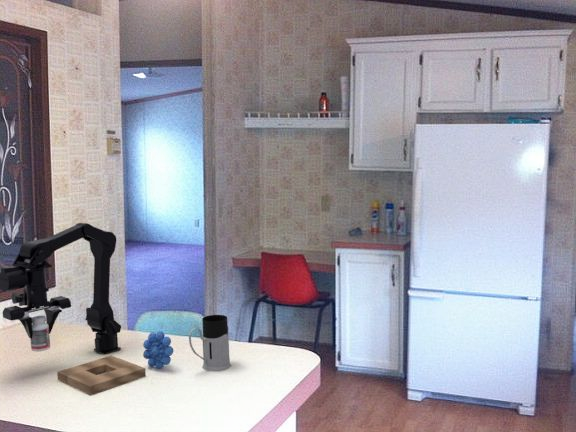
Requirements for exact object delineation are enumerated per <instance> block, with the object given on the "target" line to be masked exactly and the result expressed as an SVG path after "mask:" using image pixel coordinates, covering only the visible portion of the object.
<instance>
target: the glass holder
mask: <svg viewBox="0 0 576 432" xmlns="http://www.w3.org/2000/svg"><path fill="white" fill-rule="evenodd" d="M201 321H202V322H201V323H202V324H201V325H202V329H200V328H199V327H193V328H192V329H191V330H190V331H189V334H188V342H189V347H190V349H191V351H192V352H193V354H194V355H196V356H197V358H200V359H201V360H202V361H203V364H202V365H201V366H202V367H201V368H202V369H203V370H204V371H207V372H222V371H225V370H226V371H227V370H229V369H230V368H231V367H232V364H231V358H230V341H229V339H230V338H229V337H230V336H229V334H230V333H229V325H228V316H227V315H224V314H210V315H207V316H206V315H205V316H204V317H202V318H201ZM195 330H197V331H198V332H199V338H200V340H201V341H202V353H203V354H202V356H201V355H199V353H197V352H196V350H195V348H194V346H193V344H192V343H193V342H192V334H193V332H194V331H195Z"/></svg>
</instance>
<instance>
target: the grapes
mask: <svg viewBox="0 0 576 432" xmlns="http://www.w3.org/2000/svg"><path fill="white" fill-rule="evenodd" d="M171 342H172V340H171V338H170V336H167V335H165V333H164V331H162V330H159V331H157V332H154V331H152V332H150V333H149V334H148V336H147V339H146V340H145V339H144V342H143V344H142V345H143V348H144V349H145V350H144V351H143V354H142V355H143V358H144V359H145V360H147V366H149V367H150V368H155V369H157V370H162V369H163V368H164V367H165V366H168V365H170V363H171V360H172V358H171V356H172V355H173V353H174V347H172V346H171Z"/></svg>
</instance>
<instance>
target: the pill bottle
mask: <svg viewBox="0 0 576 432" xmlns="http://www.w3.org/2000/svg"><path fill="white" fill-rule="evenodd" d="M31 317H32V316H31ZM50 337H51V336H50V334H49V325H48V324H47V323H46V315H35V316H33V317H32V338H31V339H30V338H29V339H30V348H31V349H30V350H31V351H33V352H36V353H37V352H44V351H47V350H49V349H50V348H51V341H50V340H51V339H50Z"/></svg>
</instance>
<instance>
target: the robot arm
mask: <svg viewBox="0 0 576 432" xmlns="http://www.w3.org/2000/svg"><path fill="white" fill-rule="evenodd" d="M80 239H83V240H85V241H86V242H88V243H89V250H90V252H91V254H92V256H93V259H94V263H93V264H94V265H93V266H94V267H93V293H92V294H93V295H92V296H93V297H92V298H93V300H92V304H91V305H90V307H86V309H85V313H86V314H85V315H86V317H85V318H84V319H85V321H86V323H87V326H88V327H89V328H90V329H91V331H92V332H93V333H95V337H94V349H93V351H95V352H97V353H99V354H102V355H106V354H110V353H113V352H117V351H120V350H122V348H121V347H120V346H119V340H118V339H119V338H118V334H119V333H120V332H121V330H122V325H121V324H120V323H118V322H117V321H116V320H115V316H114V310H113V308H112V306H111V304H110V275H111V259H112V256H113V255H114V252H115V251H116V247H117V236H116V234H114V233H113V232H112V231H106V230H103V229H101V228H98V227H95V226H94V225H91V224H90V223H87V222H86V223H85V222H79V223H76V224H75V225H73V226H70V227H68V228H66V229H64V230H62V231H60V232H58V233H56V234H53V235H51V236H49V237H46V238H41V239H40V238H39V239H35V240H30V241H27V242H24V243H22V244H21V246H20V249H19V253H18V254H17V256H16V257H15V260H14V261H13V263H12V266H5V267H1V268H0V290H1V292H4V293H7V292H11V291H14V290H19V289H23V293H21V292H20V291H17V292H12V293H11V301H12V304H13V305H12V306H8V307H4V309H3V310H2V318H3V319H7V320H8V321H17V320H18V321H19V322H20V323H21V324H22V326H23V328H24V331H25V332H26V334H27V336H28V338H29V339H31V338H32V316H30V313H34V312H39V311H42V310H43V311H44V314H45V317H46V322H45V323H47V324H48V325H49V335H50V334H51V333H52V331H53V327H54V326H55V322H56V320H57V319H58V317H59V315H60V313H63V310H65V309H69V308H71V307H72V301H71V299H70V298H68V297H66V296H62V295H60V296H55V297H51V298H50V299H49V300H48V292H49V287H47V279H46V278H47V275H46V269H50V268H52V264H50V263H49V262H48V261H47V259H49V258H50V257H51V256H52V255H53V254H54V253H55V252H56V251H57V250H60V249H61V248H64V247H65V246H68V245H70V244H72V243H75V242H76V241H79V240H80ZM15 304H18V305H15ZM23 306H24V307H23Z"/></svg>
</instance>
